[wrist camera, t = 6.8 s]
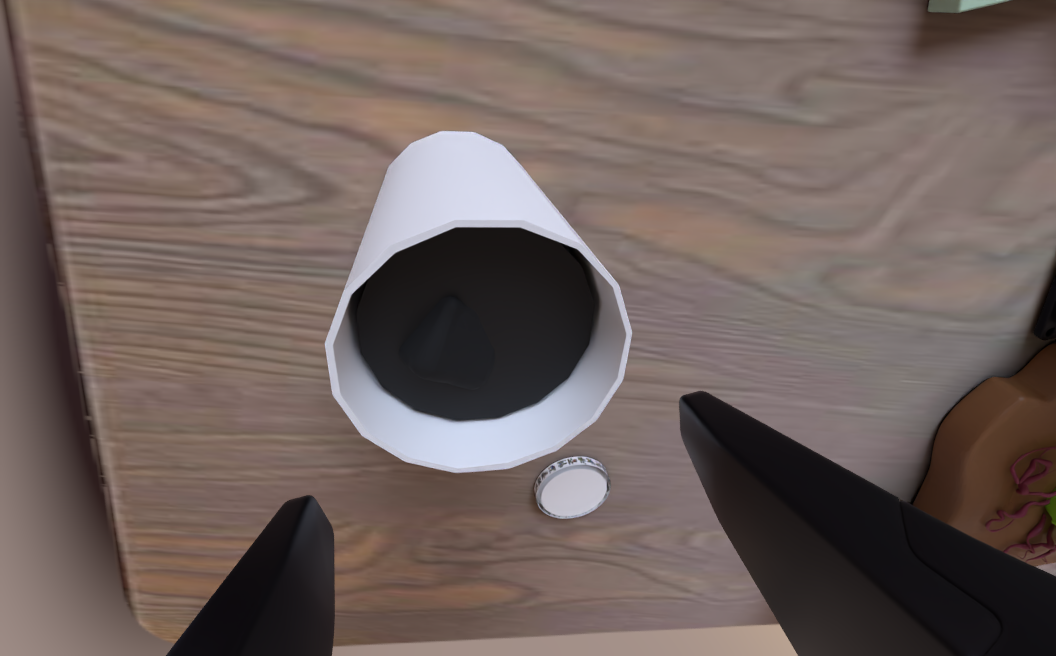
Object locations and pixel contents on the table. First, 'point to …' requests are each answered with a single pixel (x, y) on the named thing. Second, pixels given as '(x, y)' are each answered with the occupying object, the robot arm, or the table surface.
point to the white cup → (473, 315)
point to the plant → (1000, 463)
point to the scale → (959, 5)
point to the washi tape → (572, 487)
